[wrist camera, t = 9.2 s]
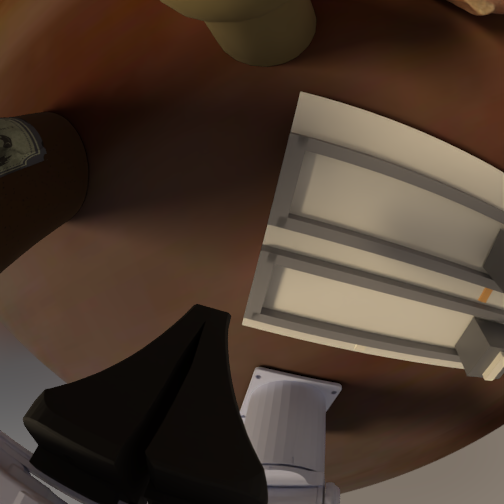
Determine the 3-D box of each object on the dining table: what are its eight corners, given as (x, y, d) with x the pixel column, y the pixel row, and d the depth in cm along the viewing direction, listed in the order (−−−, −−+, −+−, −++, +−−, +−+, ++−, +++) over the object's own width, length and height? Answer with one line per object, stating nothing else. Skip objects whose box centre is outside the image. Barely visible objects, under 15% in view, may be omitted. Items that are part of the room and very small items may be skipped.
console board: (497, 364, 22) (503, 378, 21) (244, 314, 24) (239, 331, 22) (577, 223, 15) (590, 232, 13) (300, 92, 16) (300, 90, 14)
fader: (485, 351, 20) (501, 384, 17) (454, 345, 20) (469, 381, 17) (503, 324, 19) (523, 356, 15) (473, 316, 19) (492, 351, 15)
